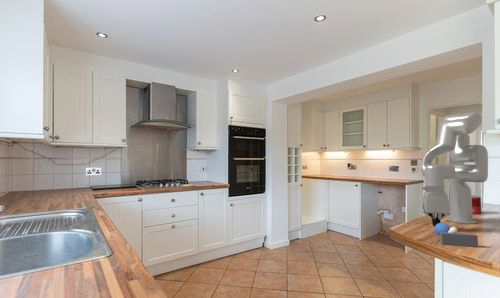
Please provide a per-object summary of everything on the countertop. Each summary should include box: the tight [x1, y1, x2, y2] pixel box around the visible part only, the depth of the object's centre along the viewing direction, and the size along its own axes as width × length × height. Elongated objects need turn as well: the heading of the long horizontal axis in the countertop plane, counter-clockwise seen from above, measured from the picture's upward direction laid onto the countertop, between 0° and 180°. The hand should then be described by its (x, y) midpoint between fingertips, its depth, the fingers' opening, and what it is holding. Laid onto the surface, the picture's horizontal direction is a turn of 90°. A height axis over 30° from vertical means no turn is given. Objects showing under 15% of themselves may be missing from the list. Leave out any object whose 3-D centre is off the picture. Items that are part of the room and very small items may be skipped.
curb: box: [439, 232, 479, 248], centre depth 103 cm, size 2×12×4 cm, turn 72°
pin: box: [448, 226, 458, 233], centre depth 108 cm, size 2×2×9 cm
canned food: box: [471, 194, 482, 215], centre depth 161 cm, size 8×8×11 cm
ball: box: [434, 222, 451, 236], centre depth 115 cm, size 6×6×6 cm
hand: (436, 226), depth 125 cm, fingers closed
